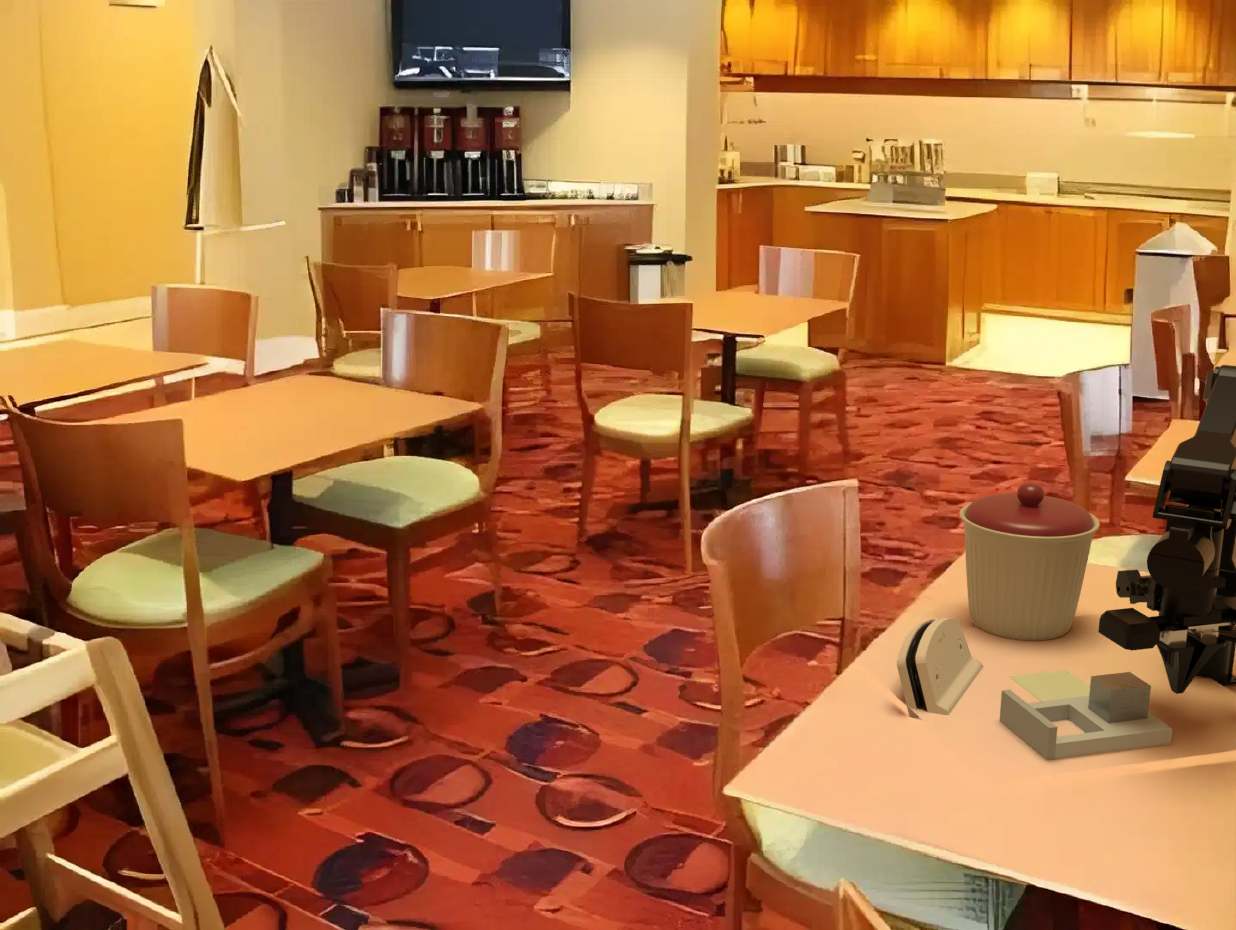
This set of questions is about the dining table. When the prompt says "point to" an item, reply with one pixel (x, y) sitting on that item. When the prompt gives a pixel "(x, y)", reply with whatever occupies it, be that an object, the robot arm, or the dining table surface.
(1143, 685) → the block
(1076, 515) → the canister
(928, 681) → the beige half-round holder
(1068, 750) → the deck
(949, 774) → the dining table surface
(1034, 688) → the pad
